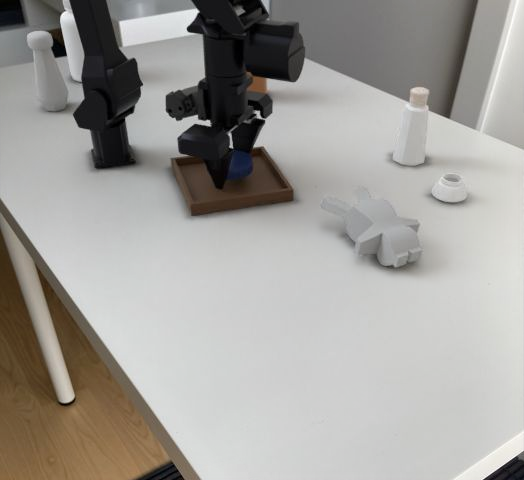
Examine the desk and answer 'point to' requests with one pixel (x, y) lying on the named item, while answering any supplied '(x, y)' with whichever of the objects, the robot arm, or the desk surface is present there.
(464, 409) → the desk surface
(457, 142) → the desk surface
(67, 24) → the pill bottle
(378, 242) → the bunny figurine
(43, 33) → the salt shaker
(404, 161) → the pepper shaker
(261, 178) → the tray
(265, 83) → the jar
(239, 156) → the lid
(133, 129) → the desk surface
